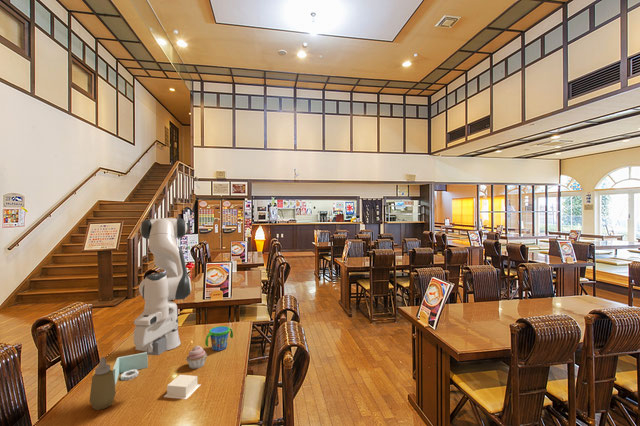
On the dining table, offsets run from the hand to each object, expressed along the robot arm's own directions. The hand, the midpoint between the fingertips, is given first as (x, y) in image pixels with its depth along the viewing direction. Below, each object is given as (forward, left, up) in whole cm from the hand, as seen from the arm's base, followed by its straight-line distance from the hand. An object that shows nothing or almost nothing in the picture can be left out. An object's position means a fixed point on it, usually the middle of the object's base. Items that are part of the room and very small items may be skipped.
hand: (157, 348), depth 122 cm
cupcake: (+5, +21, -18) cm, 28 cm away
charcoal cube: (0, 0, -2) cm, 2 cm away
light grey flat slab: (+10, +1, -18) cm, 20 cm away
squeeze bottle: (-14, -11, -18) cm, 25 cm away
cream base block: (+11, +1, -17) cm, 20 cm away
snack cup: (+6, +41, -18) cm, 45 cm away
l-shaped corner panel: (-21, +10, -18) cm, 29 cm away
